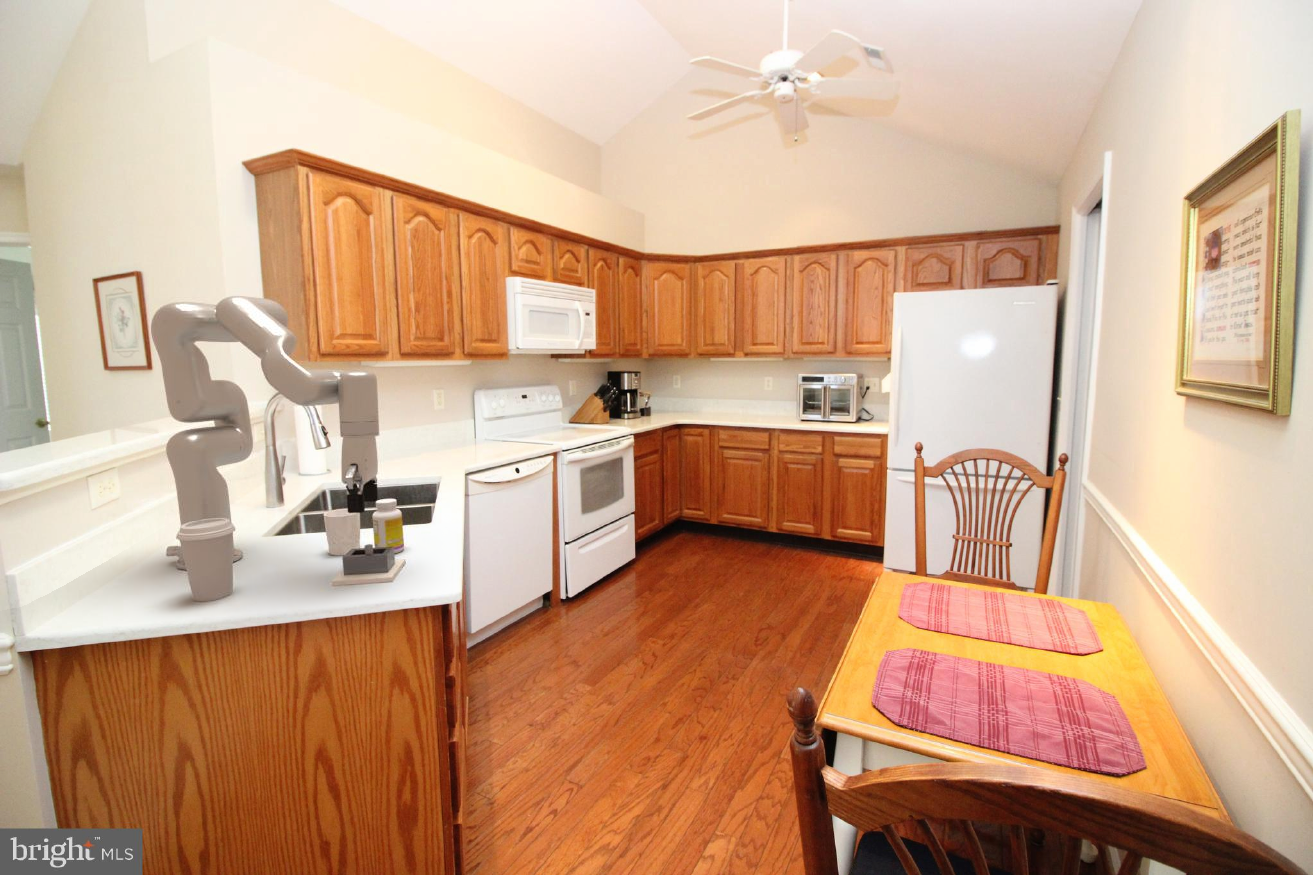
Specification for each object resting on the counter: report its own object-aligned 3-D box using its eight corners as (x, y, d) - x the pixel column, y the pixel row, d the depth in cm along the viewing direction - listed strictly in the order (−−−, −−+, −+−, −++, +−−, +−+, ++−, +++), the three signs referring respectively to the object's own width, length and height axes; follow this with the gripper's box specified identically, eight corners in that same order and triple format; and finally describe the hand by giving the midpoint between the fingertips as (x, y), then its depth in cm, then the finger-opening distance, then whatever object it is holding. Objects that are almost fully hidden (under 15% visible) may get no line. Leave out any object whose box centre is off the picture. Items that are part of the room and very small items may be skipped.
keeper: (331, 585, 127) (329, 555, 126) (350, 566, 138) (348, 538, 137) (392, 581, 129) (390, 552, 128) (405, 563, 140) (403, 536, 139)
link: (343, 575, 130) (342, 557, 129) (352, 566, 136) (351, 548, 135) (388, 572, 131) (386, 554, 131) (395, 563, 137) (393, 546, 137)
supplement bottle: (409, 547, 152) (406, 497, 150) (395, 556, 146) (392, 504, 144) (384, 546, 153) (380, 497, 151) (369, 555, 146) (365, 503, 144)
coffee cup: (242, 582, 129) (235, 514, 127) (241, 597, 121) (233, 524, 119) (186, 592, 123) (178, 521, 121) (180, 608, 115) (171, 532, 113)
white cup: (369, 548, 152) (366, 509, 150) (344, 558, 144) (341, 517, 143) (345, 545, 154) (342, 507, 153) (319, 554, 147) (315, 514, 146)
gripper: (354, 424, 137) (357, 497, 139) (326, 434, 120) (330, 517, 123) (389, 424, 138) (391, 497, 141) (366, 434, 121) (370, 516, 124)
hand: (363, 506), depth 132 cm, fingers open, 9 cm apart
